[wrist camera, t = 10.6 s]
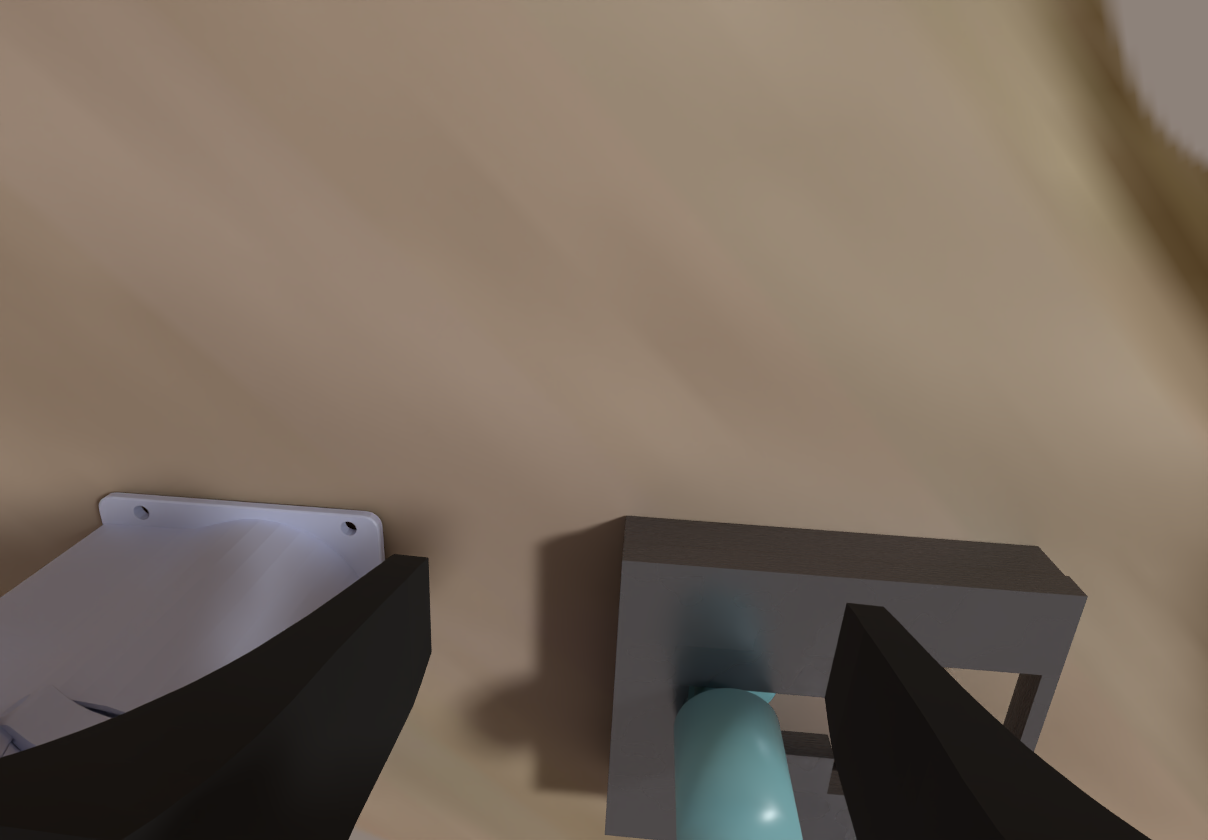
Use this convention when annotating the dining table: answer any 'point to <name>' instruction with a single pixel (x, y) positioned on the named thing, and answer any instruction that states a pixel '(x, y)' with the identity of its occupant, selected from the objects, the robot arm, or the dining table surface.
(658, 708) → the keyhole plate
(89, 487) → the dining table surface
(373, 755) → the robot arm
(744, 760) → the peg
